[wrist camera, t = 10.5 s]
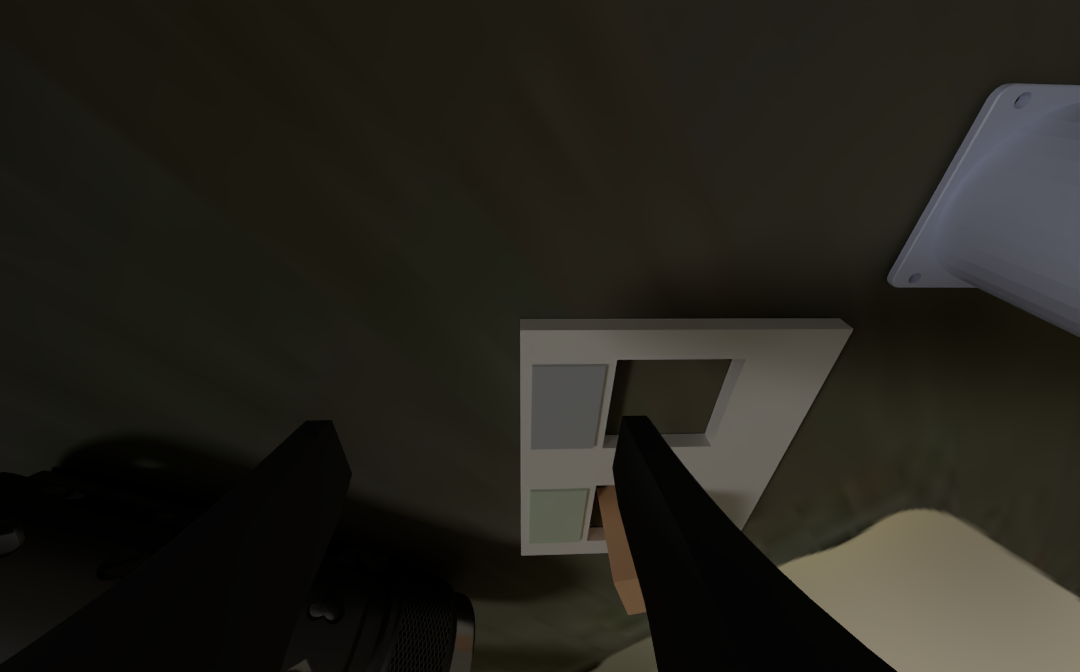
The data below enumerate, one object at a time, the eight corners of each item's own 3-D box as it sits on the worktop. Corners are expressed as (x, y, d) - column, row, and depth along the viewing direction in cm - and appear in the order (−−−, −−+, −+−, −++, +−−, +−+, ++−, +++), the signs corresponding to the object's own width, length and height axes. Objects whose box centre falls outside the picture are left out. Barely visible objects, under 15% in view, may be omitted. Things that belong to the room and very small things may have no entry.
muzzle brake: (36, 419, 22) (-279, 652, 13) (487, 552, 31) (475, 735, 23) (36, 507, 26) (-202, 726, 17) (433, 600, 36) (406, 770, 27)
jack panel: (839, 318, 20) (856, 331, 19) (725, 536, 31) (732, 551, 30) (520, 318, 19) (520, 332, 18) (520, 542, 30) (521, 558, 29)
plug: (662, 473, 27) (695, 566, 22) (671, 513, 29) (702, 605, 24) (596, 488, 27) (613, 582, 22) (611, 526, 30) (629, 618, 25)
